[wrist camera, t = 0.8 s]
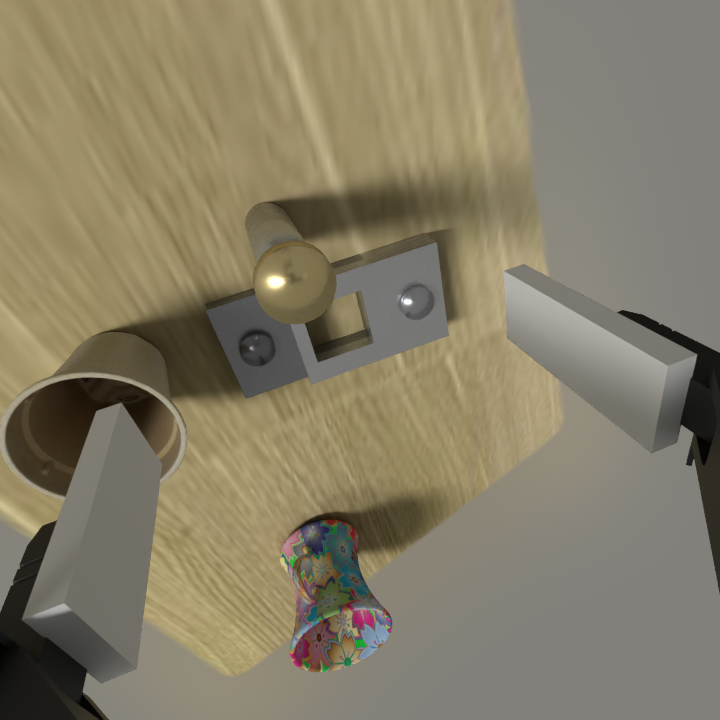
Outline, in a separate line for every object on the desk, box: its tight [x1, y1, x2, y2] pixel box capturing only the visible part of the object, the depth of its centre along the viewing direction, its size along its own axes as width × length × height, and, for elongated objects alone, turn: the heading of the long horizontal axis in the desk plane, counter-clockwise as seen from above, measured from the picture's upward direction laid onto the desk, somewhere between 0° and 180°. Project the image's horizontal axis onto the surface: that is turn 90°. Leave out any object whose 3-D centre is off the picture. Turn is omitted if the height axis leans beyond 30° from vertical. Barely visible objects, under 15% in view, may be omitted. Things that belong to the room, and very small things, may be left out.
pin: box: [245, 202, 337, 324], centre depth 26 cm, size 4×4×12 cm
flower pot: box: [0, 332, 187, 500], centre depth 29 cm, size 9×9×9 cm
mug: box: [280, 520, 392, 672], centre depth 43 cm, size 12×9×11 cm
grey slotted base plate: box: [206, 234, 449, 399], centre depth 34 cm, size 8×17×3 cm, turn 103°
